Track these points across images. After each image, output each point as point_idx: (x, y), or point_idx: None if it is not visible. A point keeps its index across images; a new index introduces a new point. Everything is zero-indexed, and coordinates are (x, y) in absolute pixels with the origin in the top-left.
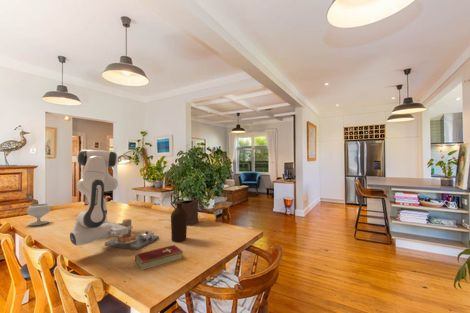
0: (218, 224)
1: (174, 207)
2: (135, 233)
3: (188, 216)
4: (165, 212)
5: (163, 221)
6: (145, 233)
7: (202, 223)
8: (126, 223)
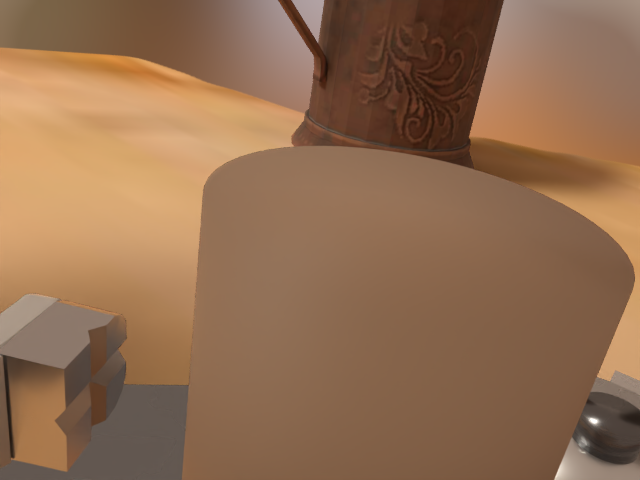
0: (596, 166)
1: (294, 6)
2: (158, 395)
3: (460, 101)
4: (28, 60)
5: (156, 140)
6: (627, 454)
7: (490, 159)
8: (576, 413)
